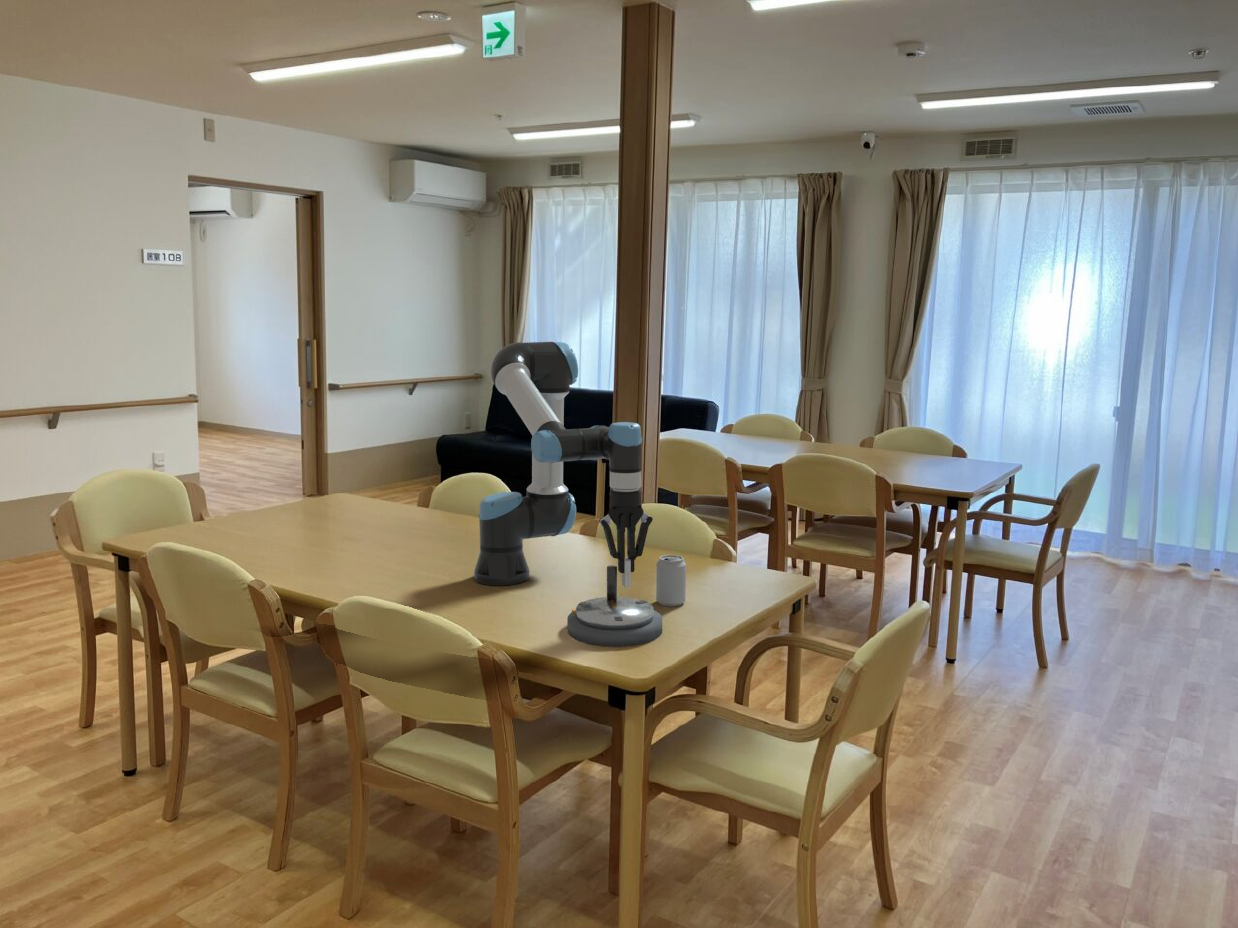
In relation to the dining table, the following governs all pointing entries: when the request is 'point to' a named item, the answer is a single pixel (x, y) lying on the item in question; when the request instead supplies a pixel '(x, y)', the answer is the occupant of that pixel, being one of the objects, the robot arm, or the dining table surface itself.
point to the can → (671, 580)
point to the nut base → (614, 633)
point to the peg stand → (614, 608)
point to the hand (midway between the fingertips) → (626, 585)
